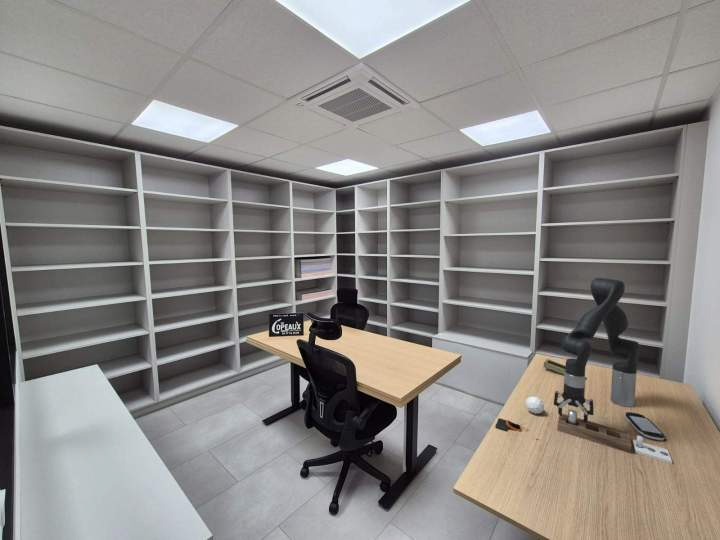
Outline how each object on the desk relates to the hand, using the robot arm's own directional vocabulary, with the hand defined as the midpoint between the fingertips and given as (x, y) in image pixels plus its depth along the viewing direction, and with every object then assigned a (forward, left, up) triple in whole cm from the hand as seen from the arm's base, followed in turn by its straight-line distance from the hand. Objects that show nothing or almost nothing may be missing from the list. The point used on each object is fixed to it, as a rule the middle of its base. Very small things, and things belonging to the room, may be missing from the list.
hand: (572, 418), depth 132 cm
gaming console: (-20, +26, -5) cm, 33 cm away
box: (-65, -6, -5) cm, 65 cm away
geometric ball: (-5, -15, -5) cm, 17 cm away
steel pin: (0, 0, -5) cm, 5 cm away
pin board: (0, +7, -5) cm, 8 cm away
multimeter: (+14, -19, -5) cm, 24 cm away
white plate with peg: (0, +26, -5) cm, 26 cm away
